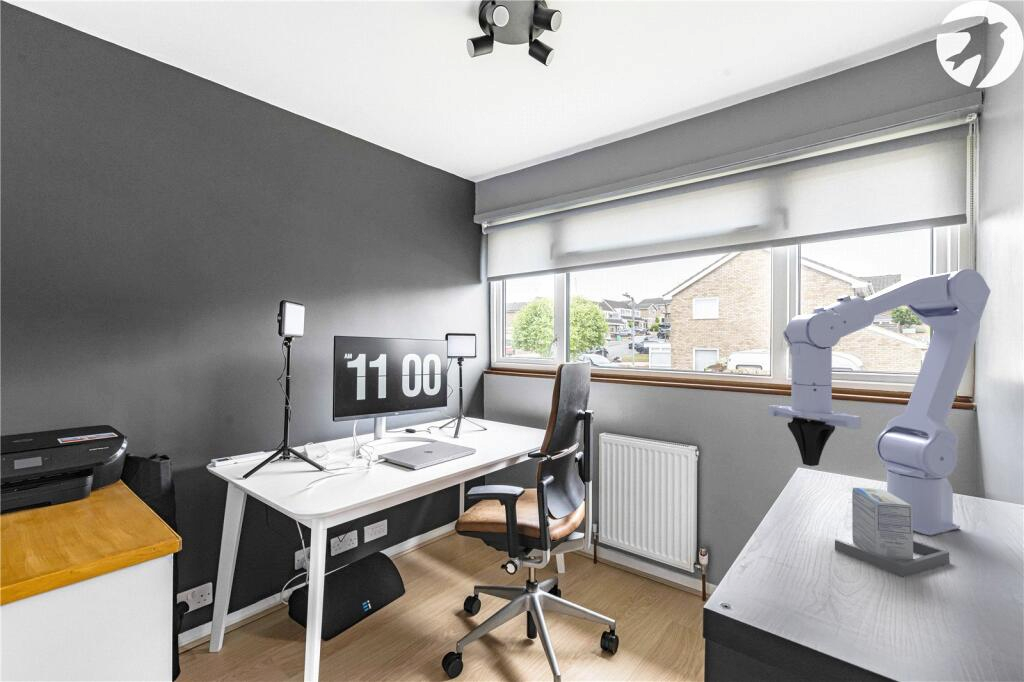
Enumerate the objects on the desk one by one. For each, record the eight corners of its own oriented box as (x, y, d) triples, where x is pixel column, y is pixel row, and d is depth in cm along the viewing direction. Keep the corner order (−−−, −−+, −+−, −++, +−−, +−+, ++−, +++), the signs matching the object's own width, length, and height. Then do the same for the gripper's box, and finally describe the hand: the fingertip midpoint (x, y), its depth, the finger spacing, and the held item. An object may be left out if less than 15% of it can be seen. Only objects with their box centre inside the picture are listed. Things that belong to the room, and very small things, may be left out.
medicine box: (914, 569, 62) (914, 506, 62) (875, 564, 63) (876, 502, 63) (885, 545, 69) (885, 489, 70) (851, 541, 71) (851, 486, 71)
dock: (880, 538, 72) (880, 529, 72) (949, 562, 64) (949, 552, 64) (834, 549, 68) (834, 539, 68) (902, 577, 60) (902, 565, 60)
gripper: (756, 381, 82) (756, 456, 82) (841, 388, 69) (840, 478, 69) (783, 381, 85) (783, 453, 85) (869, 387, 72) (869, 474, 71)
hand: (810, 464), depth 77 cm, fingers closed
